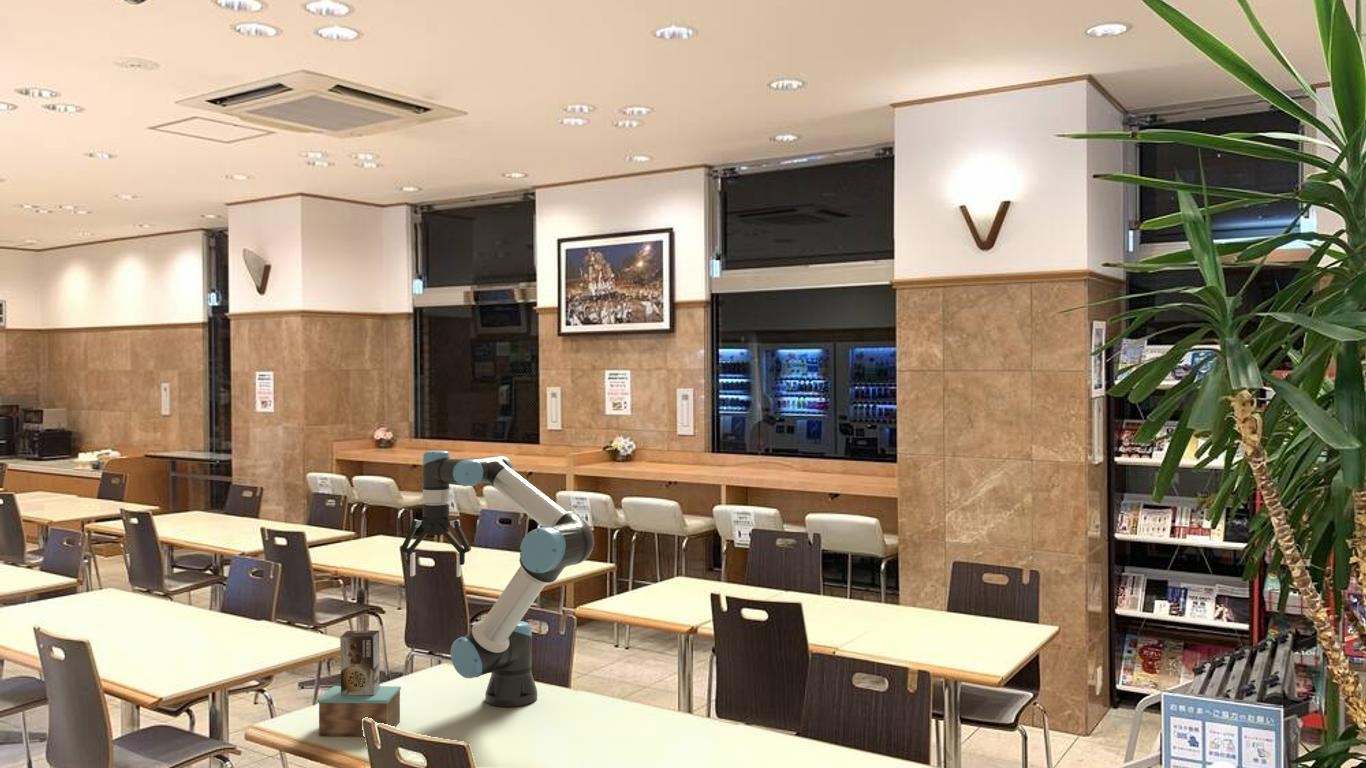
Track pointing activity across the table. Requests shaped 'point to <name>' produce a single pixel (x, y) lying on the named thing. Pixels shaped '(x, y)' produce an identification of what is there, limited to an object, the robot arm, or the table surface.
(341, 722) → the box
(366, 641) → the coffee box
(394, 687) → the lid
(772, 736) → the table surface
